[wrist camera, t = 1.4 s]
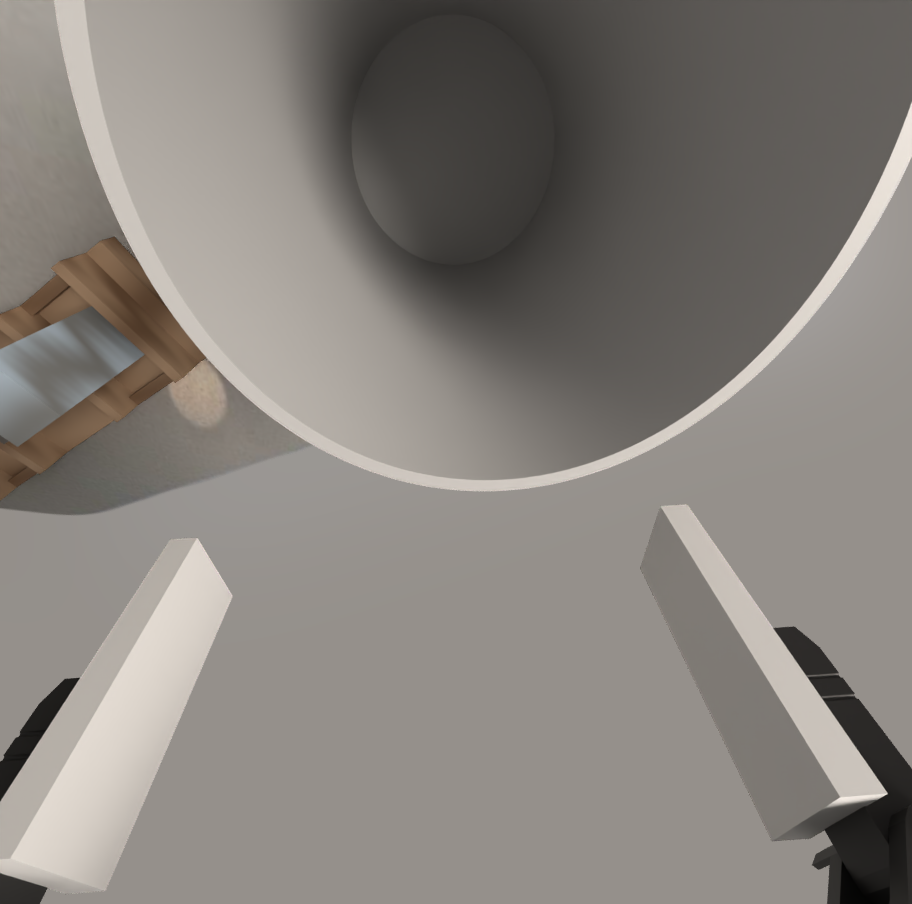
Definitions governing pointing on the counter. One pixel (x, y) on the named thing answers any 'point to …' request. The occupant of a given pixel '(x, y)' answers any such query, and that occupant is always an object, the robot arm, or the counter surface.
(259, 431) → the counter surface
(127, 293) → the rail
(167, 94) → the cylinder vase
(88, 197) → the counter surface
